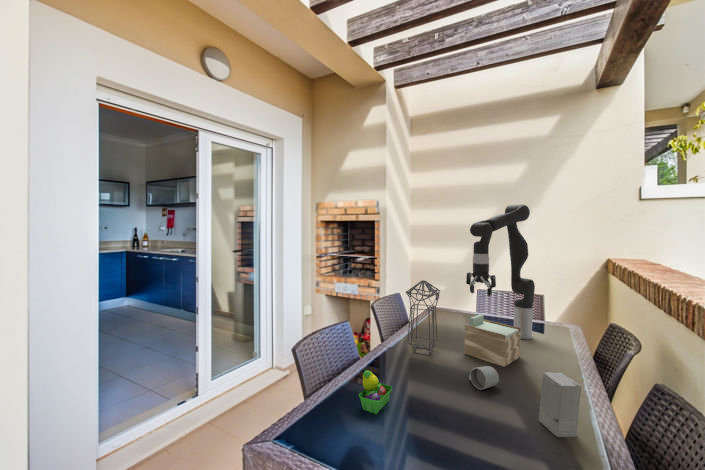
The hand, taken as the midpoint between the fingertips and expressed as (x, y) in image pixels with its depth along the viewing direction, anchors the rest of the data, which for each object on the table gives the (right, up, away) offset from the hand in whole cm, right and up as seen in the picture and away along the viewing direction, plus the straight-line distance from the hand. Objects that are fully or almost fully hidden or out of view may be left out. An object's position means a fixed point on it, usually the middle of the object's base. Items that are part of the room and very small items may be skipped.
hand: (480, 294), depth 158 cm
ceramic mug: (-15, -29, -36) cm, 49 cm away
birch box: (+2, -28, -7) cm, 29 cm away
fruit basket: (-57, -28, -51) cm, 82 cm away
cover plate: (+3, -16, -8) cm, 18 cm away
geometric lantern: (-30, -28, -2) cm, 41 cm away
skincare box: (-2, -29, -63) cm, 69 cm away
